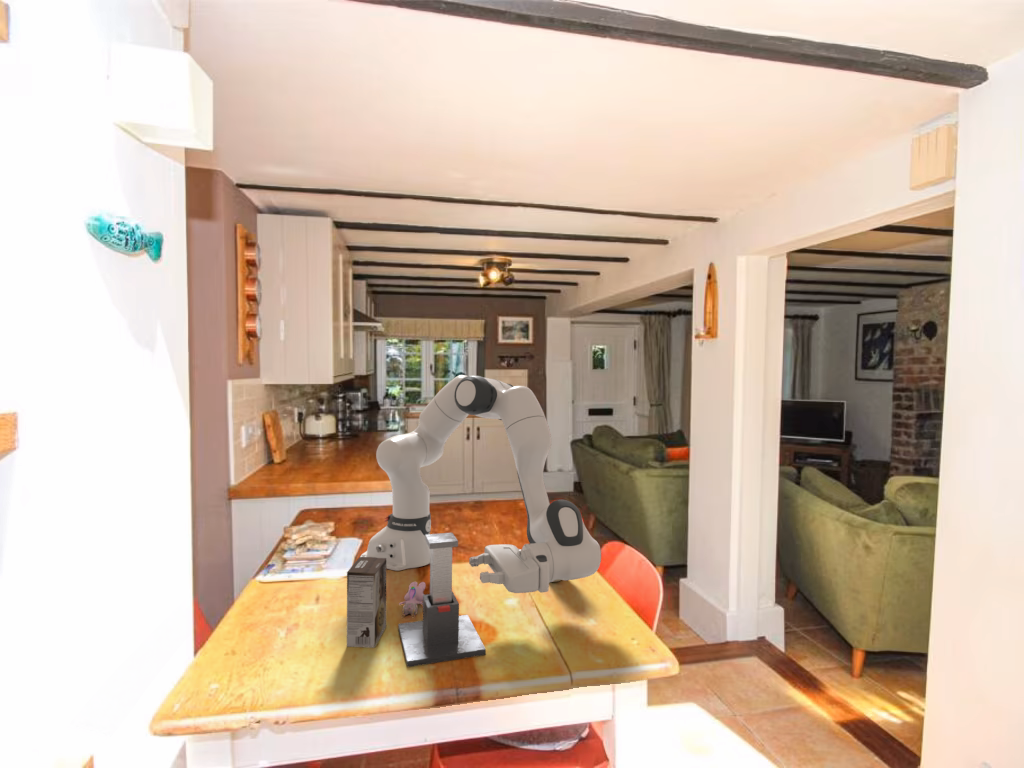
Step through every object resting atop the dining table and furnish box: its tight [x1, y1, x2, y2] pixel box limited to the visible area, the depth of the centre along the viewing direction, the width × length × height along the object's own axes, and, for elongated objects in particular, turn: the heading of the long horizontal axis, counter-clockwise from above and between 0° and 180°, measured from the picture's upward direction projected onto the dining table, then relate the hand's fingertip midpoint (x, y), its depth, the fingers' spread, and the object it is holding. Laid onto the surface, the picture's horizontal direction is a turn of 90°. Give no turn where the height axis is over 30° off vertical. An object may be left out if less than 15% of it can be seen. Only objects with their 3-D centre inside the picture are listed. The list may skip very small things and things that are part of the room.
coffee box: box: [346, 556, 387, 649], centre depth 116 cm, size 9×6×16 cm
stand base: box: [397, 590, 487, 668], centre depth 115 cm, size 16×16×9 cm
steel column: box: [425, 532, 459, 606], centre depth 115 cm, size 6×6×21 cm
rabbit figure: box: [398, 581, 426, 620], centre depth 132 cm, size 6×6×15 cm
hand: (475, 569), depth 117 cm, fingers open, 8 cm apart
